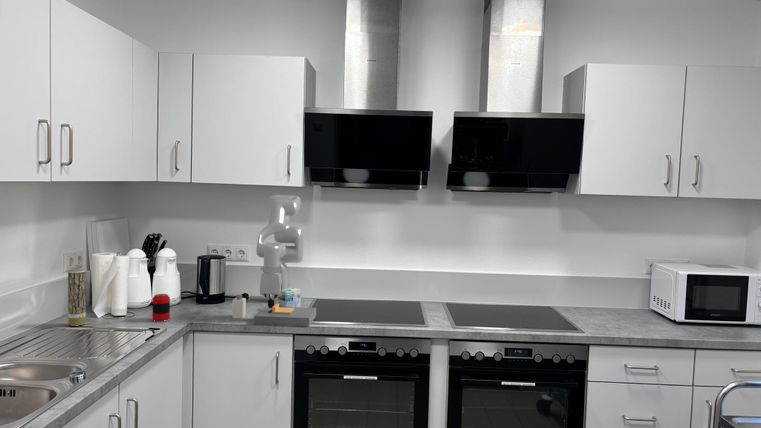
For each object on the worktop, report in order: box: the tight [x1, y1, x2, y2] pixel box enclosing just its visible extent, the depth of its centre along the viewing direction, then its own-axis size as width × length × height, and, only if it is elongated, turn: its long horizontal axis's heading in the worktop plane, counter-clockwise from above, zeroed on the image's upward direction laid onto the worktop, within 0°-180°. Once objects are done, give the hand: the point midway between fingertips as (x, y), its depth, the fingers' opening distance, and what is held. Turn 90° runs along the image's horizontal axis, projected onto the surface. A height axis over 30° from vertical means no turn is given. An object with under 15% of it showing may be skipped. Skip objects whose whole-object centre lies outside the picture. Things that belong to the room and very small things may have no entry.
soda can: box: [151, 293, 171, 321], centre depth 245 cm, size 8×8×12 cm
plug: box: [231, 294, 247, 319], centre depth 255 cm, size 5×5×11 cm
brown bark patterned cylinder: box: [67, 268, 87, 326], centre depth 233 cm, size 7×7×25 cm
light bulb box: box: [278, 287, 302, 307], centre depth 272 cm, size 11×7×11 cm, turn 143°
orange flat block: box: [272, 303, 294, 314], centre depth 252 cm, size 9×9×3 cm
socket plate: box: [253, 305, 317, 327], centre depth 252 cm, size 20×26×4 cm
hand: (270, 307), depth 252 cm, fingers closed
